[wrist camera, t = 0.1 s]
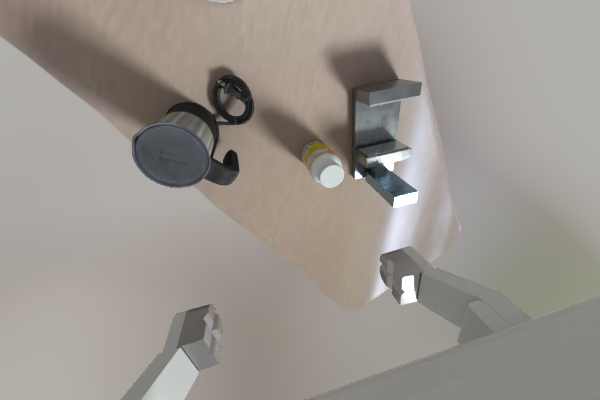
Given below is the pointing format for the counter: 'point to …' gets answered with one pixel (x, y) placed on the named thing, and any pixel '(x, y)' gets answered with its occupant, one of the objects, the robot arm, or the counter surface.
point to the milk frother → (191, 141)
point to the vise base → (377, 116)
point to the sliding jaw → (387, 172)
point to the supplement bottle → (322, 164)
